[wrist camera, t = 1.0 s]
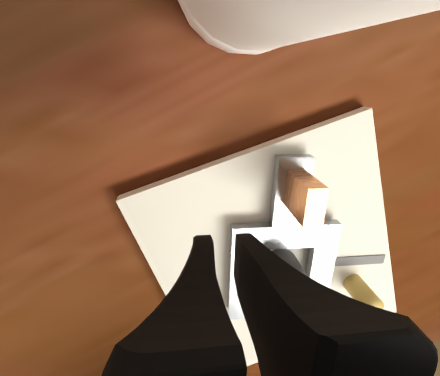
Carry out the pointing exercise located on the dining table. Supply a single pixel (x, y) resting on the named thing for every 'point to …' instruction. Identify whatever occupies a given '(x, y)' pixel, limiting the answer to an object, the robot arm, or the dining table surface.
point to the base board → (260, 210)
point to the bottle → (289, 20)
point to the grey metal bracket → (292, 223)
